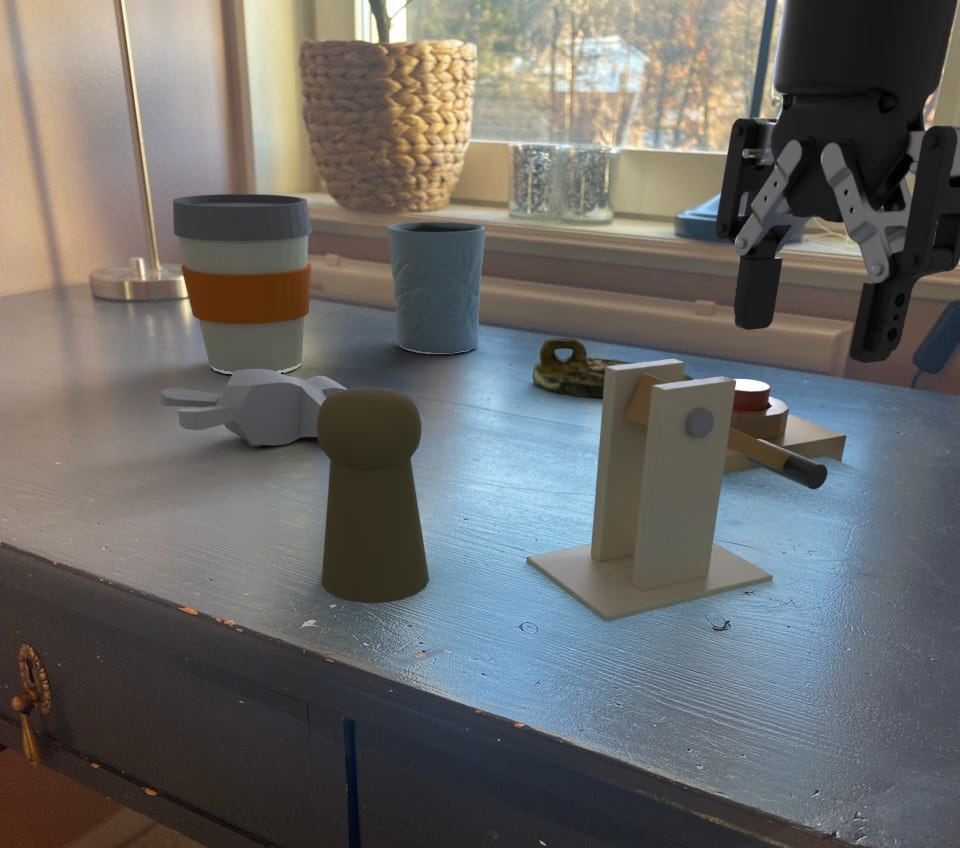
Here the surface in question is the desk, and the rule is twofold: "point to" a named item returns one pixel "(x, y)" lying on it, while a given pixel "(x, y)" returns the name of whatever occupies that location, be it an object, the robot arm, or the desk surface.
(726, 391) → the bracket
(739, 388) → the button
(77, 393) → the desk surface
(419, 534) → the cork
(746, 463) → the button block
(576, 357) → the seal
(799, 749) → the desk surface
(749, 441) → the lever
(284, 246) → the reusable coffee cup
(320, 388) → the bunny figurine
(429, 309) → the blue embossed cup
